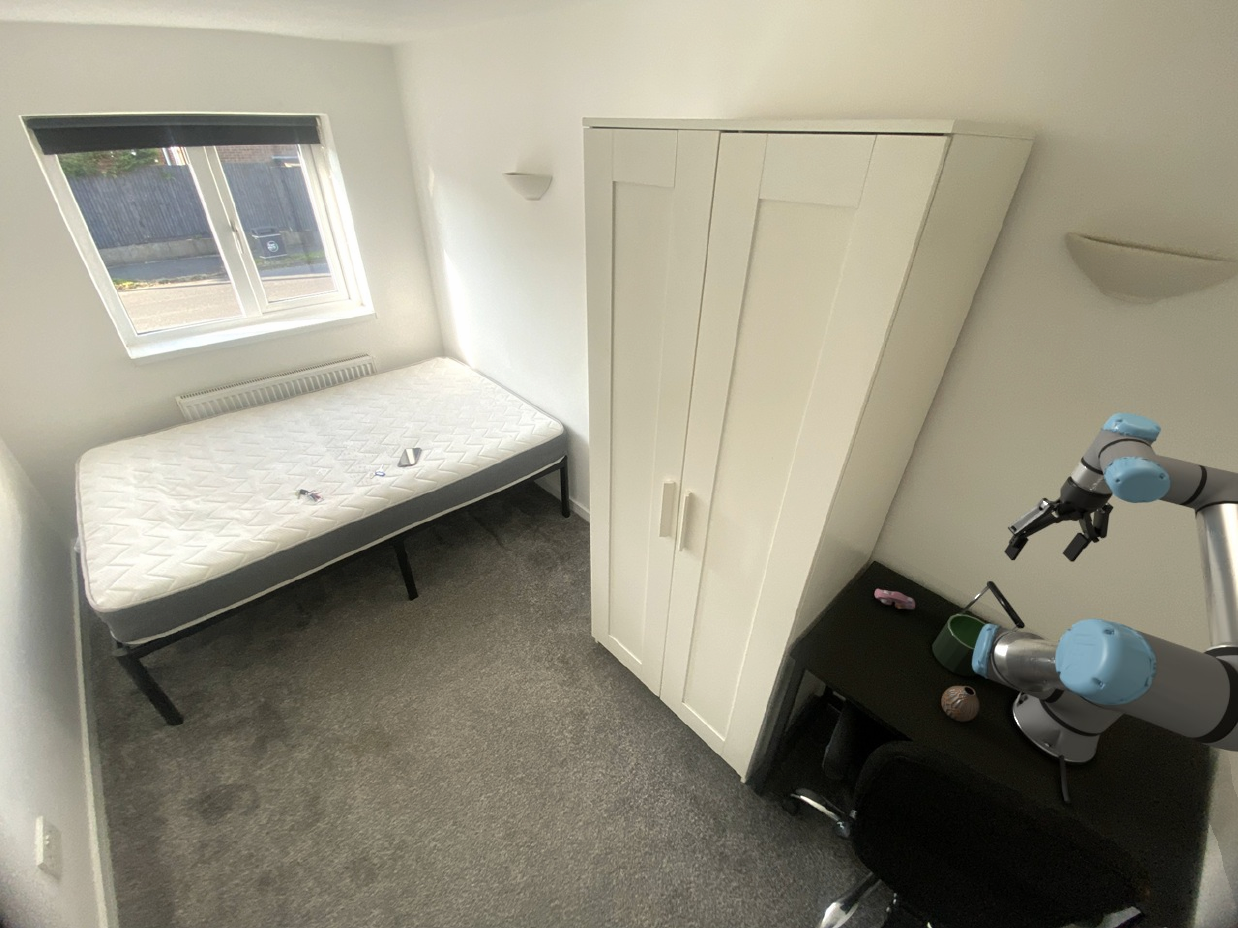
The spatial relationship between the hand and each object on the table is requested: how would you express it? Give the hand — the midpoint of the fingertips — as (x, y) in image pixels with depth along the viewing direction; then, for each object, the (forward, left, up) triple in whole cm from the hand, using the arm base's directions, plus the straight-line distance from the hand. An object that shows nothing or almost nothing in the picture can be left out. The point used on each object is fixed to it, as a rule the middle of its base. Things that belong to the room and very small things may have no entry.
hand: (1038, 556), depth 116 cm
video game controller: (+10, +19, -31) cm, 38 cm away
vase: (-21, +17, -31) cm, 41 cm away
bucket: (-6, +9, -31) cm, 33 cm away
